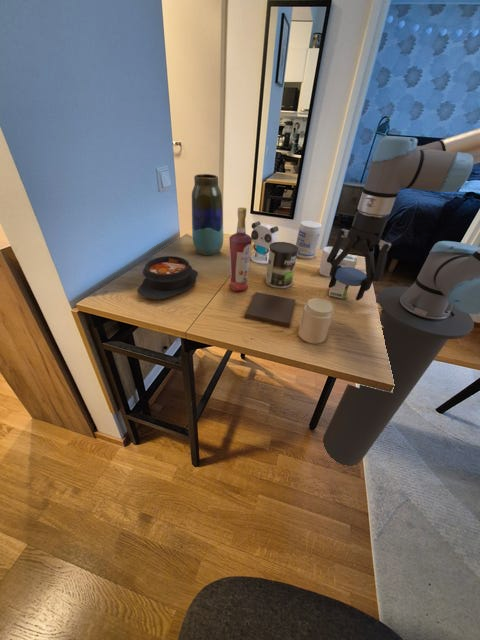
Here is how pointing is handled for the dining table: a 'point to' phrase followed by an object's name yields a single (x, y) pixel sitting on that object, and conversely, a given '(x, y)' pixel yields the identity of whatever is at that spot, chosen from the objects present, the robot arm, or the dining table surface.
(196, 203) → the vase
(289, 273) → the coffee can
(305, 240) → the supplement tub
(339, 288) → the syrup box
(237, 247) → the liquor
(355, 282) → the jar lid
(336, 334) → the dining table surface
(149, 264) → the casserole
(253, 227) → the panda figurine
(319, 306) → the jar
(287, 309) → the serving board
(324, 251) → the white cup
